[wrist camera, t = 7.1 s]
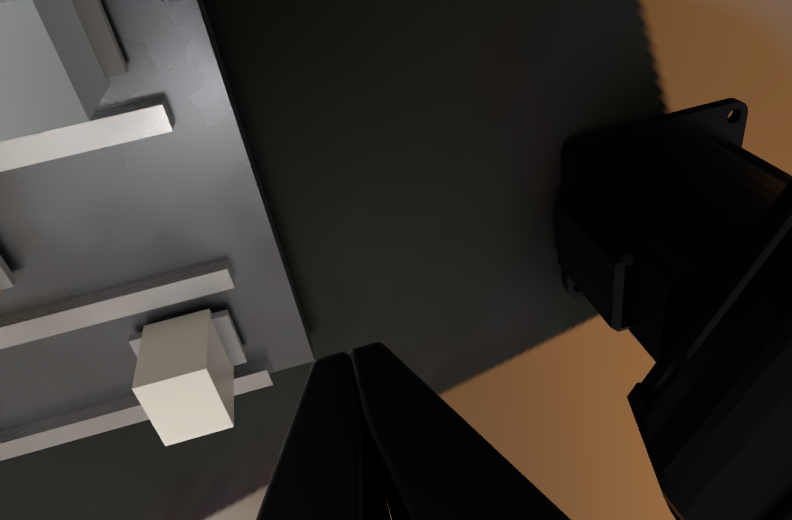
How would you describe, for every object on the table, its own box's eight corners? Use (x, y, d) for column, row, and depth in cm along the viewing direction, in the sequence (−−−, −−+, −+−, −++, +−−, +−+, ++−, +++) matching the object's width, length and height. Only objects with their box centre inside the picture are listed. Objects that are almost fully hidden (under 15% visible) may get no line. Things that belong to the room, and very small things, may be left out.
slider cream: (225, 304, 19) (224, 363, 16) (248, 360, 20) (250, 421, 18) (127, 330, 18) (112, 394, 16) (157, 385, 20) (147, 451, 18)
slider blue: (87, -31, 13) (58, -9, 11) (132, 77, 15) (114, 115, 12) (-55, -1, 13) (-113, 27, 11) (4, 106, 14) (-37, 150, 12)
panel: (168, -108, 14) (157, -103, 12) (309, 333, 22) (317, 380, 20) (-384, 2, 13) (-497, 28, 11) (-28, 425, 21) (-56, 485, 19)
